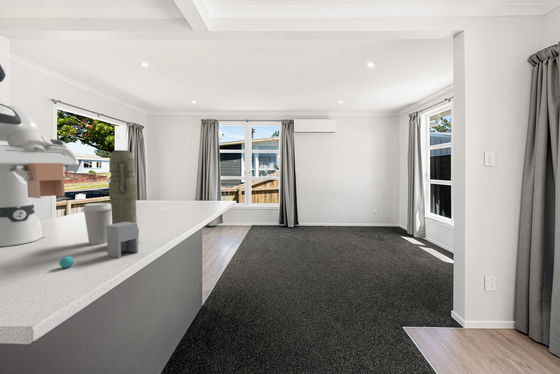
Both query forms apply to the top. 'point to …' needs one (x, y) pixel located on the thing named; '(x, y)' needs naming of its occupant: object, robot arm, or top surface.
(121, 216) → the thermos
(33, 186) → the tan block
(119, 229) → the light gray boxy block
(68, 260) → the teal ball
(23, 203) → the robot arm
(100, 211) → the coffee cup
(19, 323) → the top surface
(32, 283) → the top surface
